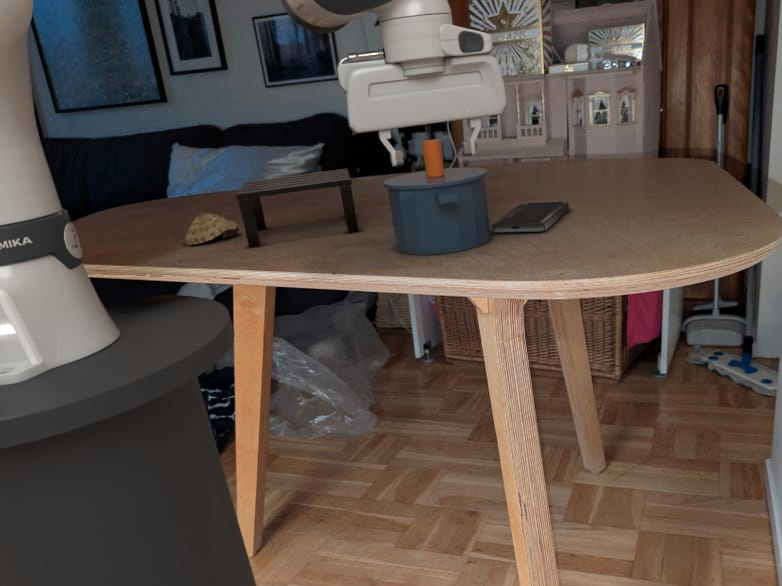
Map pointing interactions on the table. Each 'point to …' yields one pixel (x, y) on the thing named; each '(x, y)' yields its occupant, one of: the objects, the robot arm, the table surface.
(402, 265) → the table surface
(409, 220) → the pot
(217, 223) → the seashell
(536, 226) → the phone
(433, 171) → the lid
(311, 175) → the rack
